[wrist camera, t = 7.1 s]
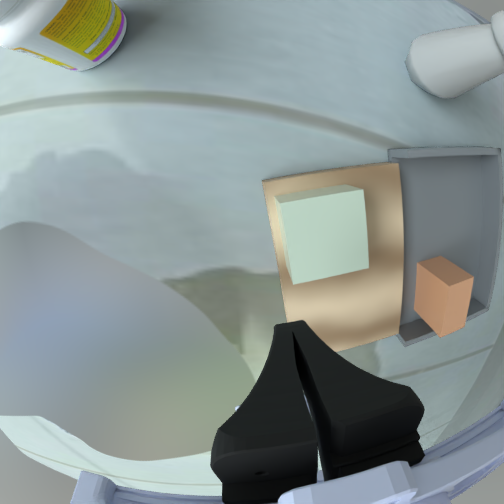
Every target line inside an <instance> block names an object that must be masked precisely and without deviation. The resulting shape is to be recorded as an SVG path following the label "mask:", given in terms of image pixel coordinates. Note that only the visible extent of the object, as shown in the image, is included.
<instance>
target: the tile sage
mask: <svg viewBox="0 0 504 504" xmlns="http://www.w3.org/2000/svg"><path fill="white" fill-rule="evenodd" d="M274 198H275V204H276V209H277V215H278V220H279V226H280V232H281V237H282V243H283V249H284V255H285V261H286V267H287V269H288V272H289V275H290V277H291V280H292V283H293V285H294V284H299V283H304V282H308V281H313V280H318V279H323V278H327V277H332V276H336V275H341V274H345V273H350V272H354V271H358V270H362V269H367V268H369V257H368V237H367V223H366V211H365V201H364V191H363V189H360V188H357V187H354V186H350V185H347V184H343V185H337V186H330V187H324V188H318V189H312V190H306V191H300V192H294V193H289V194H283V195H278V196H274Z"/></svg>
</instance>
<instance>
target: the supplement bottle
mask: <svg viewBox="0 0 504 504" xmlns="http://www.w3.org/2000/svg"><path fill="white" fill-rule="evenodd" d="M126 25H127V23H126V17H125V15H124V13H123V11H122V10H121V9H120V8H119V7H118V6H117V5H116V4H115V3H114V2H113V1H112V0H0V46H2V47H5V48H8V49H12V50H15V51H18V52H22V53H25V54H28V55H31V56H34V57H37V58H40V59H42V60H45V61H48V62H50V63H53V64H56V65H59V66H61V67H64V68H67V69H70V70H73V71H84V70H88V69H91V68H93V67H95V66H97V65H99V64H100V63H102V62H103V61H105V60H106V59H107V58H108V57H109V56H110V55H111V54H112V53H113V52H114V51H115V50H116V49H117V47H118V46H119V44H120V43H121V41H122V39H123V37H124V35H125V32H126Z"/></svg>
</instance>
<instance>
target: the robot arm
mask: <svg viewBox="0 0 504 504" xmlns="http://www.w3.org/2000/svg"><path fill="white" fill-rule="evenodd" d="M303 392H304V393H303ZM235 410H236V412H235V413H234V414H233V415H232V416H231V417H230V418H229V419H228V420H227V421H226V422H225V423H224V424H223V425H222V426H221V427H220V428H218V430H217V433H216V436H215V439H214V443H213V447H212V451H211V464H210V466H211V468H212V470H213V472H214V473H215V474H216V476H217V477H218V478H219V479H220V481H221V482H222V496H194V495H179V494H168V493H159V492H152V491H145V490H139V489H133V488H127V487H122V486H118V485H116V484H115V483H114V482H113V481H111V480H110V479H108V478H106V477H104V476H101V475H98V474H94V473H90V472H86V471H81V473H80V476H79V479H78V482H77V484H76V487H75V490H74V493H73V496H72V499H71V502H70V504H451V502H450V500H452V499H453V498H455V497H457V496H458V495H460V494H461V493H463V492H464V491H466V490H467V489H469V488H470V487H472V486H473V485H475V484H476V483H477V482H479V481H480V480H482V479H483V478H484V477H486V476H487V475H488V474H490V473H491V472H492V471H493V470H495V469H496V468H497V467H499V466H500V465H501V464H502V463H504V399H503V401H502V403H501V405H500V406H499V407H497V408H496V409H495V410H493V411H492V412H490V413H489V414H487V415H486V416H484V417H483V418H481V419H480V420H478V421H477V422H475V423H474V424H472V425H470V426H469V427H467V428H466V429H464V430H462V431H460V432H459V433H457V434H455V435H453V436H452V437H450V438H448V439H446V440H444V441H442V442H440V443H438V444H436V445H434V446H432V447H430V448H428V449H426V450H424V451H423V449H422V447H421V445H420V443H419V441H418V440H419V439H420V436H419V434H418V432H417V428H418V426H419V424H420V421H421V419H422V417H423V414H424V406H423V404H422V402H421V401H420V399H419V398H418V396H417V395H416V394H415V393H414V391H413V390H412V389H411V388H410V387H408V386H405V385H401V384H397V383H393V382H390V381H387V380H384V379H382V378H379V377H376V376H374V375H372V374H370V373H368V372H366V371H364V370H362V369H360V368H358V367H356V366H355V365H353V364H351V363H350V362H348V361H347V360H345V359H344V358H343V357H341V356H340V355H339V354H337V353H336V352H335V351H334V350H332V349H331V348H330V347H329V346H328V345H327V344H326V343H325V342H324V341H322V340H321V339H320V338H319V337H318V336H317V335H316V333H315V332H314V331H313V330H312V329H311V328H310V327H309V325H308V324H307V323H306V321H304V320H298V321H293V322H288V323H282V324H277V325H275V326H274V335H273V341H272V345H271V348H270V352H269V355H268V358H267V360H266V363H265V366H264V368H263V370H262V372H261V374H260V376H259V378H258V380H257V382H256V384H255V385H254V387H253V389H252V390H251V392H250V394H249V395H248V396H247V398H246V399H245V400H244V402H243V403H242V404H241V405H240V406H236V408H235ZM310 413H311V415H310ZM311 416H312V419H311ZM312 420H313V421H312ZM318 450H319V455H320V461H321V466H322V470H318Z"/></svg>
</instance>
